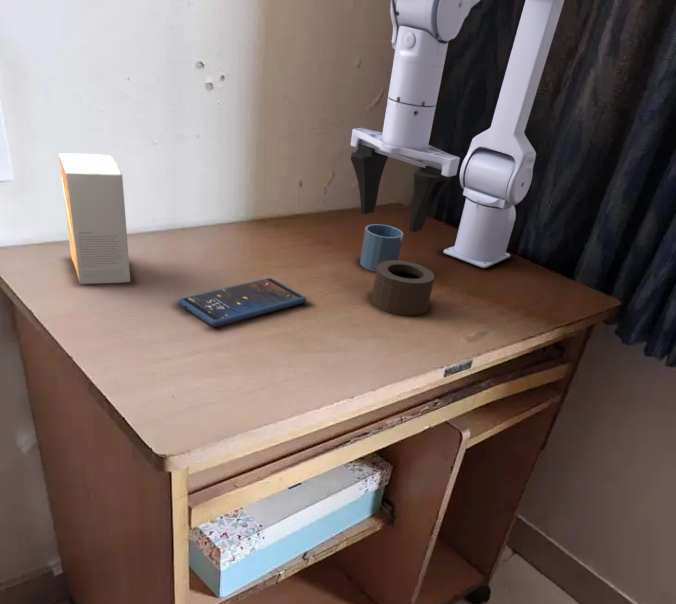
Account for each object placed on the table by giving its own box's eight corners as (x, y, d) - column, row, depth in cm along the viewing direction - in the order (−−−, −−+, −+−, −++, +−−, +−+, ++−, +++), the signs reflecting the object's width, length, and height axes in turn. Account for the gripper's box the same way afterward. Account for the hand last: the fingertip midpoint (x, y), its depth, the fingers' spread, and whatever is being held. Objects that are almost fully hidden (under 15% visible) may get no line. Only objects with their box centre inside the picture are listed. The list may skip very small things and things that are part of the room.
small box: (71, 259, 88) (57, 152, 79) (120, 258, 90) (112, 154, 82) (78, 285, 82) (64, 172, 74) (131, 283, 85) (123, 173, 76)
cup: (373, 255, 104) (379, 221, 101) (404, 268, 102) (410, 233, 98) (352, 263, 100) (357, 228, 97) (383, 276, 98) (389, 240, 95)
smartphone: (308, 297, 86) (213, 322, 77) (307, 303, 87) (213, 329, 78) (270, 276, 90) (176, 298, 81) (269, 282, 90) (176, 304, 81)
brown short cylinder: (392, 287, 95) (398, 256, 92) (437, 306, 92) (445, 274, 89) (360, 300, 90) (365, 267, 87) (407, 321, 87) (414, 287, 84)
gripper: (342, 89, 78) (328, 209, 86) (448, 118, 72) (421, 244, 80) (376, 86, 82) (360, 201, 91) (478, 114, 76) (450, 233, 85)
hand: (391, 221), depth 86 cm, fingers open, 7 cm apart
